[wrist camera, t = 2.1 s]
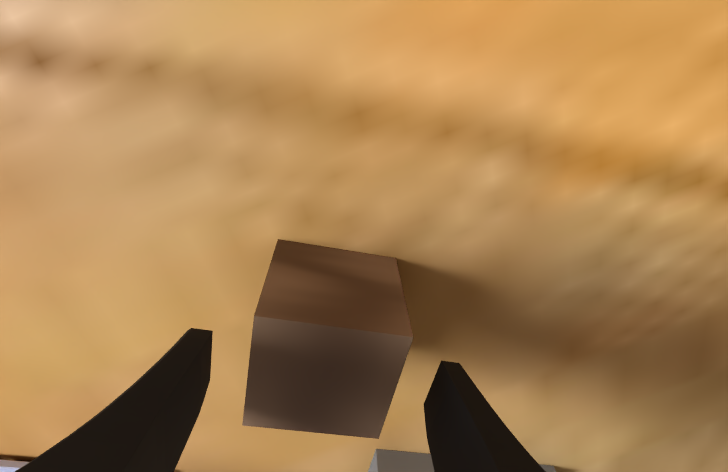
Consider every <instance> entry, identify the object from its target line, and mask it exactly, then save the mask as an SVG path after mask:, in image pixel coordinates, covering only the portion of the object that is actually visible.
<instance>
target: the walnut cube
mask: <svg viewBox="0 0 728 472" xmlns="http://www.w3.org/2000/svg"><path fill="white" fill-rule="evenodd" d="M412 340H413V333H412V329H411V324H410V320H409V315H408V311H407V306H406V302H405V297H404V293H403V288H402V284H401V279H400V275H399V270H398V266H397V261H396V258H392V257H385V256H379V255H373V254H367V253H360V252H354V251H348V250H342V249H335V248H329V247H323V246H317V245H310V244H304V243H298V242H292V241H285V240H279V239H278V241H277V244H276V247H275V251H274V254H273V257H272V260H271V263H270V267H269V270H268V273H267V276H266V279H265V283H264V286H263V289H262V292H261V296H260V299H259V302H258V305H257V308H256V312H255V315H254V322H253V331H252V341H251V350H250V360H249V369H248V378H247V388H246V397H245V406H244V416H243V425H244V426H254V427H264V428H275V429H285V430H295V431H305V432H315V433H326V434H336V435H346V436H356V437H366V438H377V439H379V436H380V433H381V430H382V427H383V424H384V421H385V418H386V416H387V413H388V410H389V407H390V404H391V401H392V398H393V395H394V392H395V389H396V386H397V384H398V381H399V378H400V375H401V372H402V369H403V366H404V363H405V360H406V357H407V354H408V351H409V349H410V346H411V343H412Z"/></svg>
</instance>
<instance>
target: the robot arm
mask: <svg viewBox="0 0 728 472" xmlns="http://www.w3.org/2000/svg"><path fill="white" fill-rule="evenodd" d="M211 351H212V331H209V330H202V329H194V328H191V329H189V330H188V331H187V332H186V333H185V334H184V335H183V336H182V337H181V338H180V339H179V340H178V342H177V343H176V344H175V345H174V346H173V347H172V348H171V349H170V350H169V351H168V352H167V353H166V354H165V355H164V356H163V357H162V358H161V359H160V360H159V361H158V362H157V363H156V364H155V365H154V366H152V367H151V368H150V369H149V370H148V371H147V372H146V373H145V374H144V375H143V376H142V377H141V378H140V379H139V380H137V381H136V382H135V383H134V384H133V385H132V386H131V387H130V388H128V389H127V390H126V391H125V392H124V393H122V394H121V395H120V396H119V397H118V398H117V399H115V400H114V401H113V402H112V403H111V404H110V405H108V406H107V407H106V408H105V409H103V410H102V411H101V412H100V413H98V414H97V415H96V416H94V417H93V418H92V419H91V420H89V421H88V422H87V423H85V424H84V425H83V426H81V427H80V428H79V429H77V430H76V431H74V432H73V433H72V434H70V435H69V436H67V437H66V438H65V439H63V440H62V441H60V442H59V443H57V444H56V445H54V446H53V447H52V448H50V449H49V450H47V451H46V452H44V453H43V454H41V455H40V456H38V457H37V458H35V459H34V460H32V461H31V462H25V461H13V460H0V472H174V470H175V467H176V465H177V463H178V461H179V458H180V456H181V454H182V452H183V449H184V447H185V445H186V443H187V440H188V438H189V436H190V434H191V431H192V429H193V427H194V424H195V422H196V420H197V417H198V415H199V413H200V410H201V407H202V404H203V401H204V397H205V394H206V391H207V388H208V385H209V381H210V370H211ZM424 412H425V423H426V432H427V439H428V444H429V449H430V453H431V458H432V463H433V467H434V472H546V471H545V470H544V469H543V468H542V467H541V466H540V465H539V464H538V463H537V462H536V461H535V460H534V459H533V457H532V456H531V455H530V454H529V453H528V452H527V451H526V449H525V448H524V447H523V446H522V445H521V444H520V442H519V441H518V440H517V439H516V438H515V436H514V435H513V434H512V433H511V432H510V430H509V429H508V428H507V427H506V425H505V424H504V423H503V422H502V420H501V419H500V418H499V416H498V415H497V414H496V413H495V411H494V410H493V409H492V407H491V406H490V405H489V403H488V402H487V401H486V399H485V398H484V396H483V395H482V394H481V392H480V391H479V390H478V388H477V387H476V385H475V384H474V383H473V381H472V380H471V379H470V377H469V376H468V374H467V373H466V372H465V370H464V369H463V368H462V366H461V365H460V364H459V363H454V362H447V361H441V363H440V365H439V368H438V370H437V373H436V375H435V378H434V380H433V383H432V385H431V388H430V390H429V393H428V395H427V398H426V400H425V403H424Z"/></svg>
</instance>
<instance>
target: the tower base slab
mask: <svg viewBox="0 0 728 472" xmlns="http://www.w3.org/2000/svg"><path fill="white" fill-rule="evenodd" d="M539 465H540V464H539ZM540 466H541V467H542V468H543V469H544V470H545V471H546V472H556V470H555V468H554V466H550V465H540ZM368 472H434V467H433V463H432V458H431V454H425V453H414V452H404V451H393V450H383V449H376V451H375V453H374V456H373V459H372V462H371V465H370V468H369V471H368Z"/></svg>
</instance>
